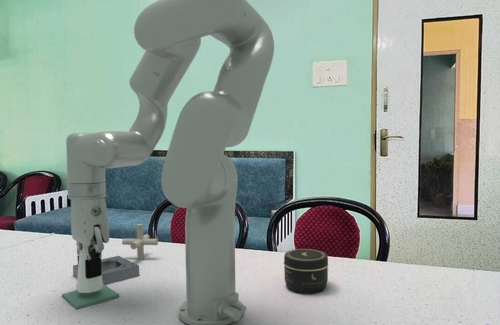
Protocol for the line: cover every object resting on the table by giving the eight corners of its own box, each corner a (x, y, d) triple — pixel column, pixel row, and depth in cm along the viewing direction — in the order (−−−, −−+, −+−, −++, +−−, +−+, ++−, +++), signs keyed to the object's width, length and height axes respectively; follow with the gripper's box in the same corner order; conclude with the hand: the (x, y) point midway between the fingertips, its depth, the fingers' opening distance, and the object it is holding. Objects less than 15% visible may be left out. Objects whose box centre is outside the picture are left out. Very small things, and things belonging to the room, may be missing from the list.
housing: (139, 275, 98) (139, 265, 98) (91, 288, 90) (90, 277, 90) (118, 265, 107) (118, 255, 107) (73, 275, 99) (72, 265, 98)
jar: (293, 297, 83) (293, 262, 83) (278, 281, 93) (277, 250, 92) (336, 292, 86) (336, 258, 85) (316, 277, 95) (316, 246, 95)
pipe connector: (163, 254, 117) (162, 221, 116) (151, 264, 107) (150, 228, 106) (130, 253, 118) (130, 220, 117) (116, 263, 108) (115, 228, 107)
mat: (119, 296, 84) (119, 294, 84) (76, 309, 78) (76, 306, 78) (102, 286, 91) (102, 283, 91) (61, 296, 85) (61, 294, 85)
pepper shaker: (78, 285, 86) (76, 236, 86) (104, 282, 88) (102, 234, 87) (74, 294, 81) (73, 242, 81) (102, 291, 83) (101, 240, 82)
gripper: (120, 192, 80) (123, 280, 81) (90, 186, 92) (92, 262, 93) (83, 196, 75) (86, 289, 76) (56, 188, 87) (59, 269, 88)
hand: (89, 273), depth 84 cm, fingers closed on pepper shaker, 3 cm apart
